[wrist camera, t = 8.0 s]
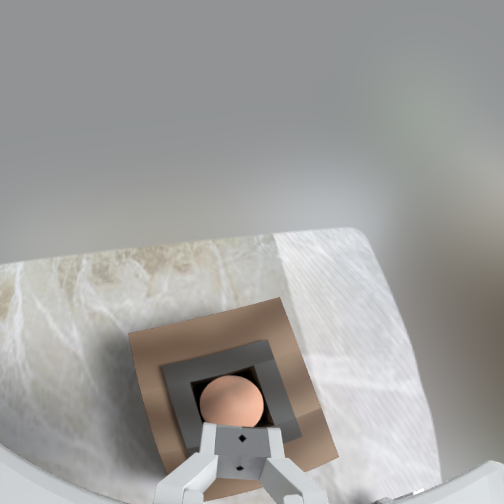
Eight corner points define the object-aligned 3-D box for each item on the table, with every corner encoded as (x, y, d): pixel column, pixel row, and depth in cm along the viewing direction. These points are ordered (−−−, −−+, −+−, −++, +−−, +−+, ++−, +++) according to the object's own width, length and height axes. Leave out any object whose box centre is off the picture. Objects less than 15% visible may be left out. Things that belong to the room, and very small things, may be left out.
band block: (310, 446, 25) (341, 457, 18) (188, 481, 22) (179, 507, 14) (265, 321, 32) (281, 294, 25) (148, 350, 29) (126, 331, 22)
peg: (258, 418, 26) (271, 423, 19) (212, 431, 25) (210, 441, 18) (243, 376, 28) (252, 368, 21) (199, 388, 27) (192, 383, 20)
